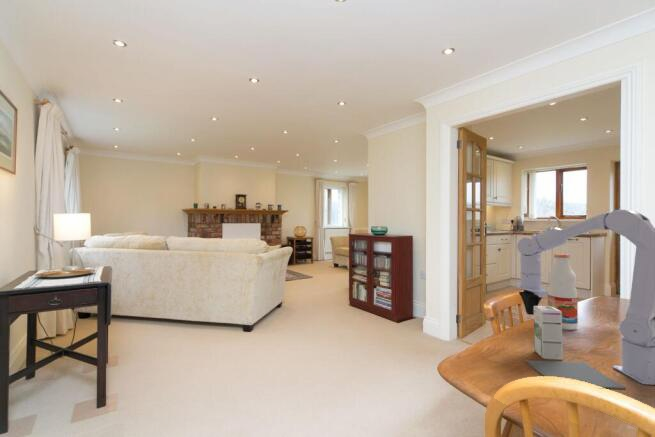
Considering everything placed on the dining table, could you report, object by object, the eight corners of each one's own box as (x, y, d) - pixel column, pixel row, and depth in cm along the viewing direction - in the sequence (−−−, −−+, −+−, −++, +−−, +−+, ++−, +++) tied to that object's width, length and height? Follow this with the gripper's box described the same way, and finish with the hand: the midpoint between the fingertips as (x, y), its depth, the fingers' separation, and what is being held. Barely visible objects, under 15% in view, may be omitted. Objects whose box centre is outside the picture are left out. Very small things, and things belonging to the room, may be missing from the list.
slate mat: (625, 389, 77) (625, 387, 77) (556, 386, 79) (556, 384, 79) (584, 363, 91) (584, 362, 91) (525, 361, 93) (525, 360, 93)
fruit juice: (561, 321, 129) (560, 253, 130) (584, 329, 120) (583, 255, 121) (541, 323, 128) (541, 253, 128) (563, 331, 118) (562, 256, 119)
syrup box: (563, 360, 94) (563, 311, 94) (541, 358, 95) (541, 309, 95) (554, 352, 99) (553, 305, 99) (533, 351, 100) (532, 304, 100)
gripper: (507, 269, 114) (507, 307, 114) (529, 276, 100) (530, 320, 99) (528, 270, 113) (528, 308, 113) (553, 277, 99) (554, 321, 99)
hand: (530, 314), depth 106 cm, fingers closed
